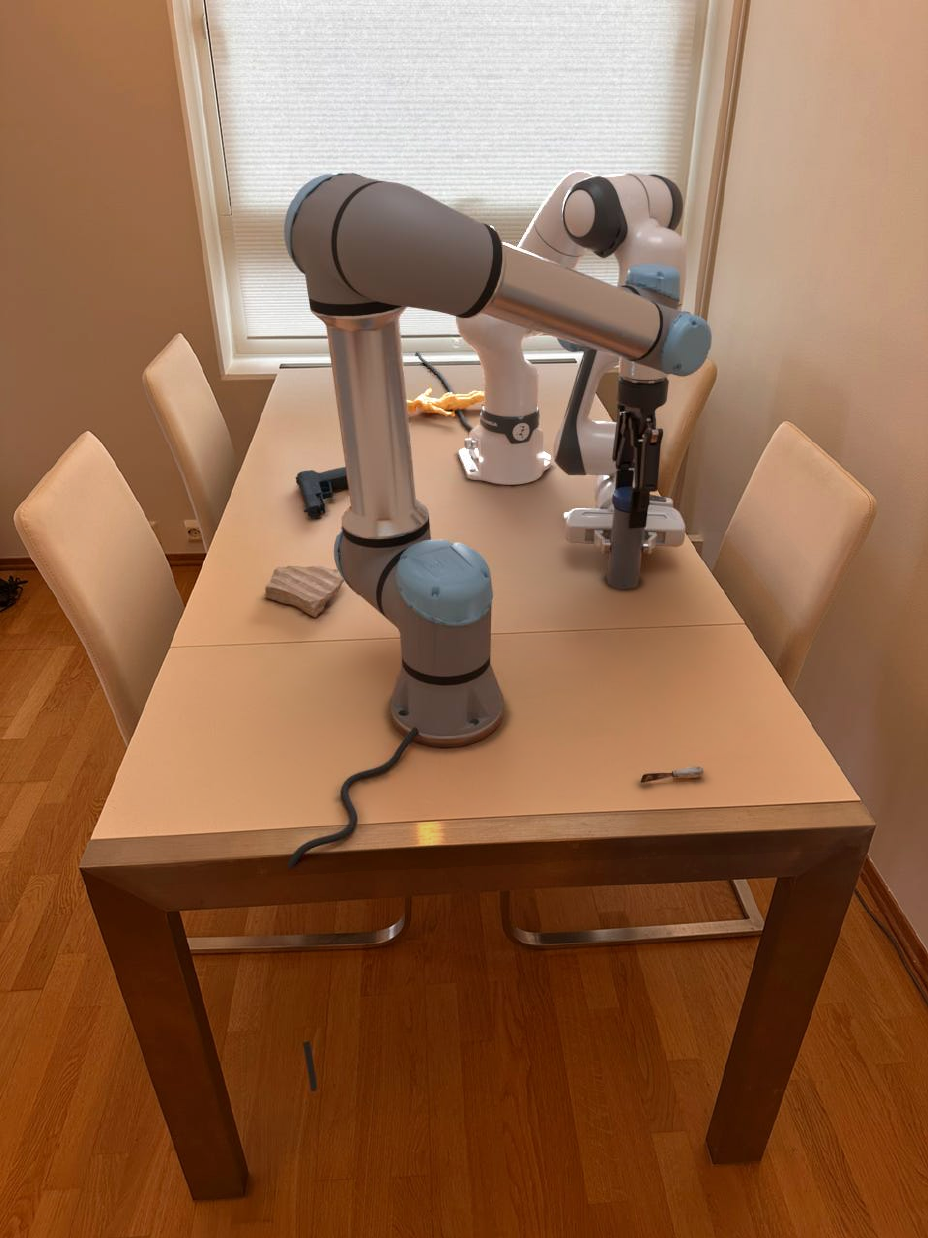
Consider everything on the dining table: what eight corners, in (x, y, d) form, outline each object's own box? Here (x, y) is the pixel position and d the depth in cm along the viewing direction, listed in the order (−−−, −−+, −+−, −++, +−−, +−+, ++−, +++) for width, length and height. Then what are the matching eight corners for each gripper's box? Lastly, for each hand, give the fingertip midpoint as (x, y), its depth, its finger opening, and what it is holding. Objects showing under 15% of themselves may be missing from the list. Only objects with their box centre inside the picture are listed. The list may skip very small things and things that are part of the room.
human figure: (395, 413, 223) (394, 398, 221) (438, 390, 237) (438, 375, 235) (462, 429, 215) (462, 413, 213) (502, 404, 229) (503, 388, 227)
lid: (619, 493, 147) (620, 483, 146) (654, 500, 144) (655, 490, 144) (606, 506, 143) (607, 496, 142) (642, 514, 140) (643, 504, 139)
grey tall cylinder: (644, 580, 151) (654, 496, 143) (627, 592, 148) (637, 507, 140) (617, 570, 154) (625, 488, 146) (600, 582, 151) (608, 498, 143)
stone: (354, 583, 150) (352, 570, 149) (317, 618, 141) (316, 605, 140) (288, 570, 155) (286, 557, 153) (249, 603, 145) (246, 590, 144)
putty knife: (703, 777, 109) (705, 767, 109) (642, 788, 108) (644, 777, 107) (700, 772, 110) (702, 762, 109) (639, 782, 109) (640, 771, 108)
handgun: (366, 513, 175) (304, 520, 172) (351, 478, 189) (294, 484, 186) (365, 498, 173) (303, 505, 170) (350, 463, 187) (293, 470, 184)
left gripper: (693, 395, 125) (673, 542, 137) (644, 356, 141) (630, 491, 154) (642, 398, 124) (627, 546, 136) (599, 359, 140) (589, 494, 152)
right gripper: (563, 495, 158) (564, 529, 146) (681, 498, 156) (691, 534, 144) (562, 527, 161) (562, 563, 149) (676, 531, 159) (686, 568, 148)
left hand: (629, 516), depth 145 cm, fingers open, 7 cm apart
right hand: (626, 549), depth 147 cm, fingers closed on grey tall cylinder, 5 cm apart
